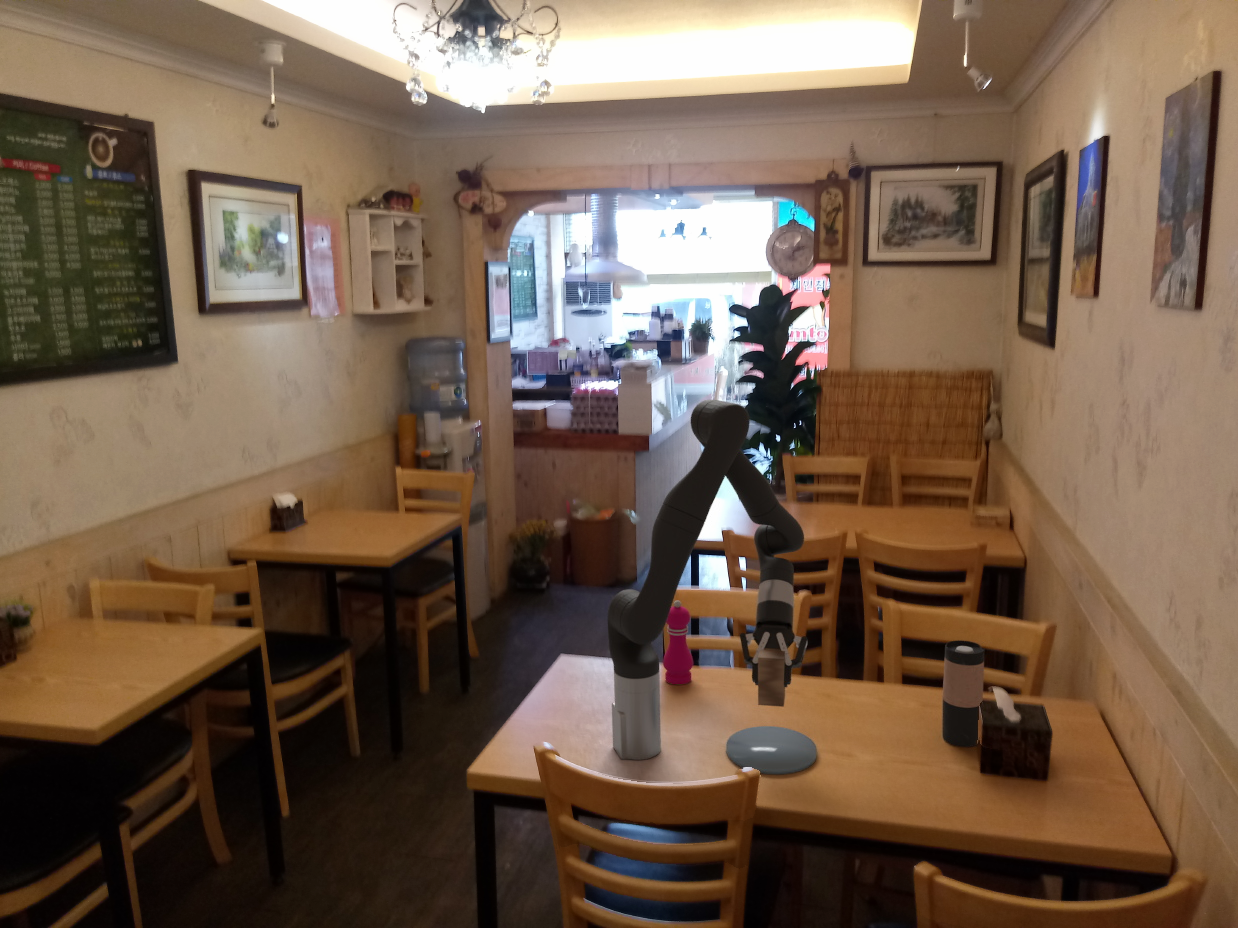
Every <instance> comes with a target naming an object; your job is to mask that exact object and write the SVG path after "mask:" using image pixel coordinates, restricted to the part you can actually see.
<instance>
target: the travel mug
mask: <svg viewBox="0 0 1238 928" xmlns="http://www.w3.org/2000/svg"><path fill="white" fill-rule="evenodd" d="M985 652H986V651H985V649H983V648H982V647H981V645H980V644H979V643H977V642H975V641H970V640H959V639H958V640H957V639H956V640H952V641H948V642H947V643H945V646H944V665H943V683H942V721H941V722H942V731H941V732H942V739H943V740H944V742H946V743H948V744H950V745H952V746H954V747H955V746H956V747H961V748H971V747H975V746H977V745H978V744H977V740H978V720H979V706H980V703H981V702H982V701H983V699H984V673H985ZM982 703H983V702H982Z"/></svg>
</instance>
